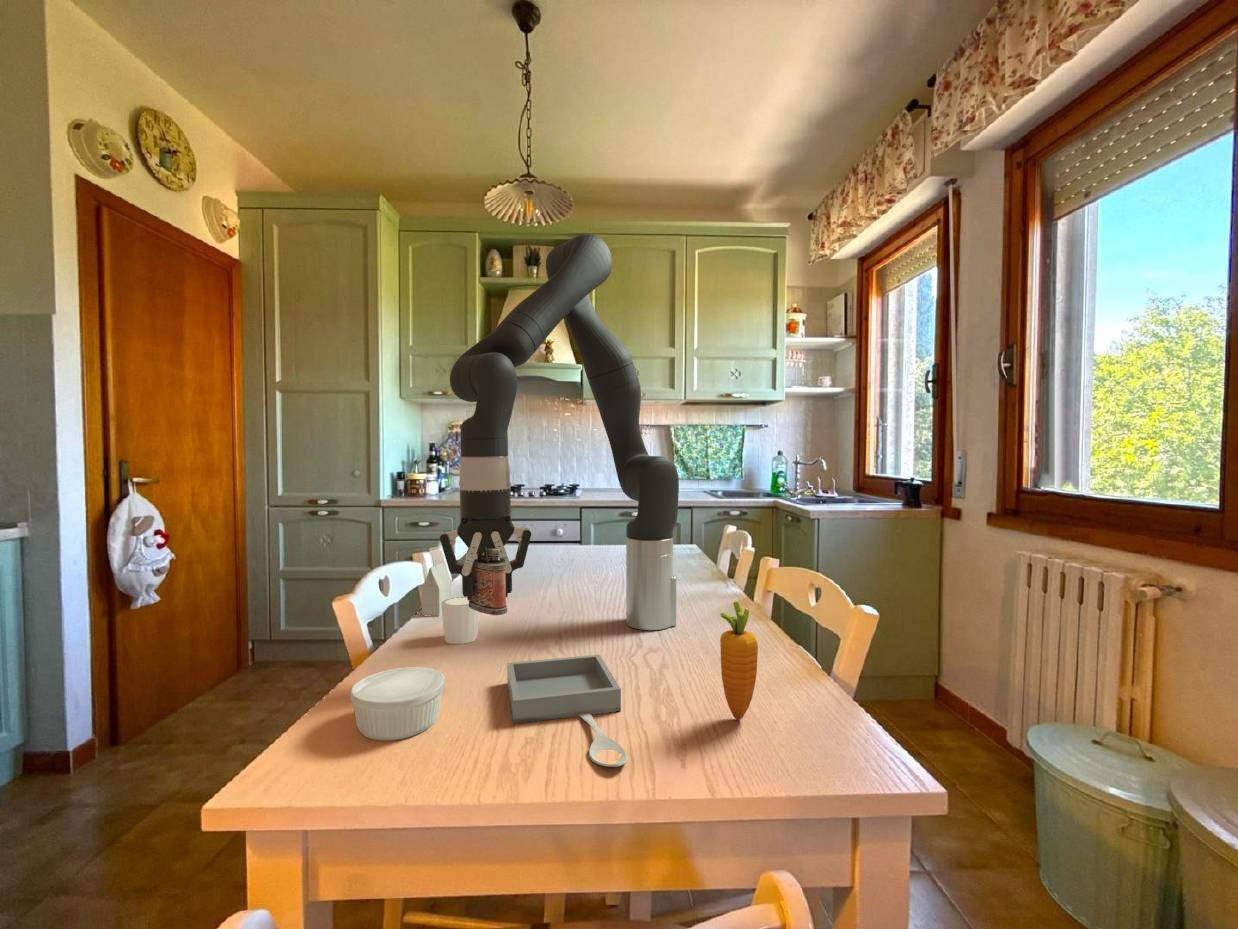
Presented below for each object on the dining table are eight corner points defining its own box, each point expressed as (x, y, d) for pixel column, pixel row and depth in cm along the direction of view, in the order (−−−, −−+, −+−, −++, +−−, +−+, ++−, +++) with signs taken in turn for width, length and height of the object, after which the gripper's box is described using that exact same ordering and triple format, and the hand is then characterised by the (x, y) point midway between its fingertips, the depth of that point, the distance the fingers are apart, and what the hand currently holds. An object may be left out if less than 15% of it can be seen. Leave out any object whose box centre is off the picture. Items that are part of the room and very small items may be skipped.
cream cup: (485, 633, 107) (485, 596, 107) (472, 646, 100) (472, 606, 100) (450, 632, 108) (450, 595, 108) (435, 644, 101) (434, 605, 101)
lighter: (512, 611, 86) (511, 545, 85) (493, 617, 83) (492, 549, 83) (482, 602, 91) (481, 540, 91) (463, 606, 89) (462, 543, 88)
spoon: (599, 782, 60) (599, 767, 60) (558, 700, 80) (558, 688, 80) (636, 775, 61) (636, 760, 61) (587, 696, 81) (587, 684, 81)
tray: (599, 673, 88) (599, 654, 88) (620, 711, 75) (620, 689, 75) (507, 683, 84) (507, 663, 84) (513, 724, 72) (513, 700, 72)
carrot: (750, 733, 70) (751, 611, 69) (712, 723, 72) (713, 605, 72) (763, 717, 74) (764, 602, 73) (726, 707, 76) (727, 597, 76)
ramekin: (376, 703, 78) (375, 665, 78) (456, 704, 78) (456, 666, 78) (332, 746, 67) (331, 701, 67) (426, 747, 67) (426, 703, 66)
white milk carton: (451, 607, 125) (451, 562, 124) (439, 616, 118) (438, 568, 118) (435, 607, 125) (434, 561, 125) (422, 616, 118) (421, 568, 118)
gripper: (530, 483, 92) (531, 588, 93) (437, 486, 88) (439, 595, 89) (535, 486, 85) (537, 600, 85) (434, 489, 81) (437, 608, 82)
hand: (487, 597), depth 87 cm, fingers closed on lighter, 4 cm apart
